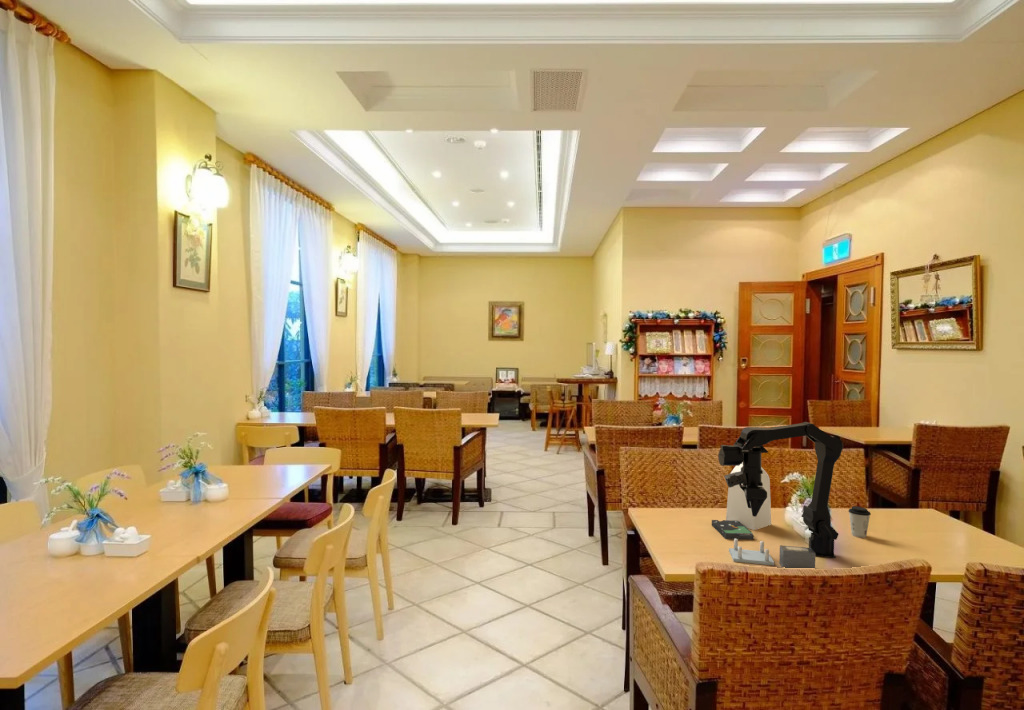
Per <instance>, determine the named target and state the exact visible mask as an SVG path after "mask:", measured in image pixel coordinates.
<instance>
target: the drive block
mask: <svg viewBox="0 0 1024 710" xmlns="http://www.w3.org/2000/svg"><path fill="white" fill-rule="evenodd" d="M816 557H817V556H816V553H815V552H814V551H813V550H812V549H811V548H809V547H806V546H805V547H803V546H793V545H785V544H784V545H782V544H781V545H780V544H779V561H778V562H779V563H778V564H779V565H780V567H781V568H782V567H785V568H815V569H816Z"/></svg>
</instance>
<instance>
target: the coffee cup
mask: <svg viewBox="0 0 1024 710" xmlns="http://www.w3.org/2000/svg"><path fill="white" fill-rule="evenodd" d="M848 514H849V515H848V516H849V523H850V524H849V525H850V531H851V532H850V534H851V535H852V537H856V538H867V536H868V535H867V534H868V528H869V522H870V518H871V517H870V516H871V515H872V514H871V511H869V510H868V509H867V508H865V507H863V506H855V505H854V506H852V507H851V508H849V509H848Z"/></svg>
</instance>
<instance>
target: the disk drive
mask: <svg viewBox="0 0 1024 710" xmlns="http://www.w3.org/2000/svg"><path fill="white" fill-rule="evenodd" d="M711 526H712V528H713V529H715V531H717V532H718V533H719V534H720V535H721V536H722V538H723V539H725V540H734V539H738V540H742V541H743V540H744V541H745V540H747V541H748V540H750V541H752V540H755V539H754V538H755V535H754V533H753V532H752V531H751V529H749V528H746V527H745V526H744V525H743V524H742V523H741V522H739V521H734V520H733V521H730V520H726V519H725V520H718V519H711Z"/></svg>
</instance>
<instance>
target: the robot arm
mask: <svg viewBox="0 0 1024 710" xmlns="http://www.w3.org/2000/svg"><path fill="white" fill-rule="evenodd" d="M805 436H806V437H807V438H808V439H809V440H811V441H812V442H813V443H814V452H815V455H816V458H817V464H816V471H815V476H814V483H813V489H812V496H811V501H810V503H809V504H808V505H803V506H802V507H803V509H802V510H803V512H802V514H801V518H802V519H803V520H802V522H803V523H804V524H805V526H807V528H808V531H810V536H809V537H808V548H811V549H812V550H813V551H814V552H815V553H816V556H815V557H824V558H825V557H827V558H834V559H835V558H836V557H837V556H836V555H835V540H838V537H839V533H838V532H837V530H835V528H834V527H832V525H831V522H832V521H831V520H832V519H831V513H830V510H829V501H830V493H831V487H832V480H833V475H834V474H833V473H834V467H835V464H836V462H837V461H838V460H839V459H840V457H841V454H842V452H843V449H844V443H843V441H842V440H841V438H839V437H837V436H833V435H830V434H829V433H827V432H825V431H824V430H823V429H820V428H819V427H817V425H815V424H814V423H810V422H807V421H803V422H801V423H793V424H787V425H780V426H773V427H759V426H757V427H756V426H755V427H754V426H747V427H743V429H742V430H741V432H740V434H739V437H738V438H737V439H736V440H735V442H734V443H733V445H726V444H721V445H720V449H719V451H718V454H717V455H718V457H717V458H718V463H719V465H720V466H722V467H723V466H724V467H725V466H729V467H731V466H732V467H735V466H739V465H740V464H742V462H743V467H742V468H741V471H740V472H735V473H732V474H730V473H728V474H725V475H724V476H723V477H724V479H725V482H726V484H727V487H733V486H735V485H739V486H740V488H741V489H742V490H743V491H744V493H745V497H746V501H747V506H748V508H751V511H752V516H755V517H756V516H757V514H758V512H759V510H760V508H761V506H762V504H763V503H764V501H765V500H766V498H767V491H766V490H765V489H764V488H763V487H759V486H763V483H762V482H761V474H763V471H762V469H761V467H762V454H768V453H769V451H768V450H767V449H766V448H765V447H764V446H765V445H767V444H769V443H771V442H773V441H778V440H784V439H791V438H799V437H805ZM741 484H742V485H741Z"/></svg>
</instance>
